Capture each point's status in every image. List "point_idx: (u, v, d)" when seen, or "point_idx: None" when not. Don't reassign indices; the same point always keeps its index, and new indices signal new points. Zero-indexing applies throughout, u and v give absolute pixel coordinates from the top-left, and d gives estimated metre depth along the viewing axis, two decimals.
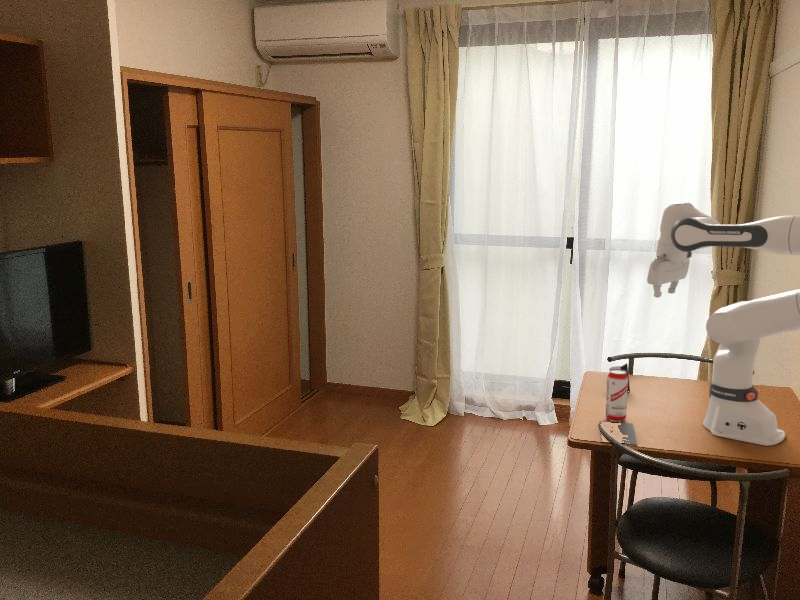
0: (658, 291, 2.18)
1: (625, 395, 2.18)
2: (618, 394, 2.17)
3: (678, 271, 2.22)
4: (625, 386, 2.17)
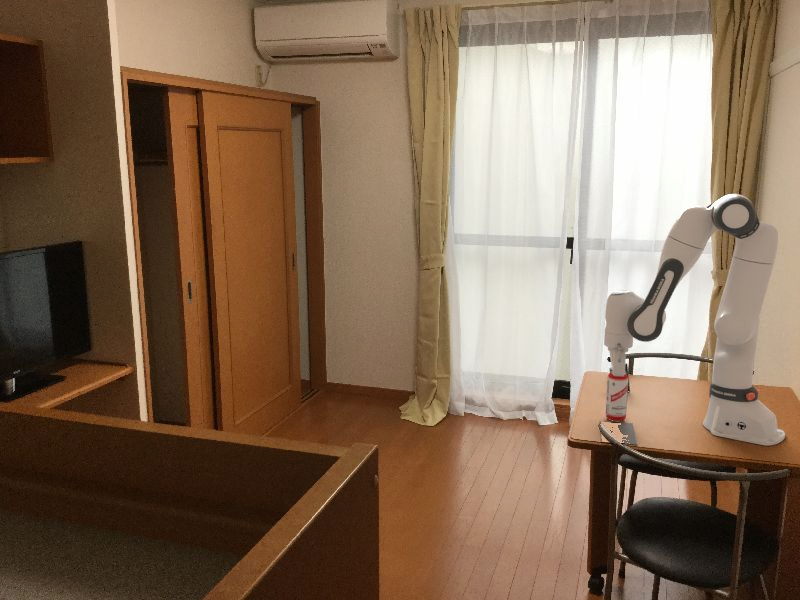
0: None
1: (625, 395, 2.17)
2: (619, 395, 2.16)
3: None
4: (625, 387, 2.16)
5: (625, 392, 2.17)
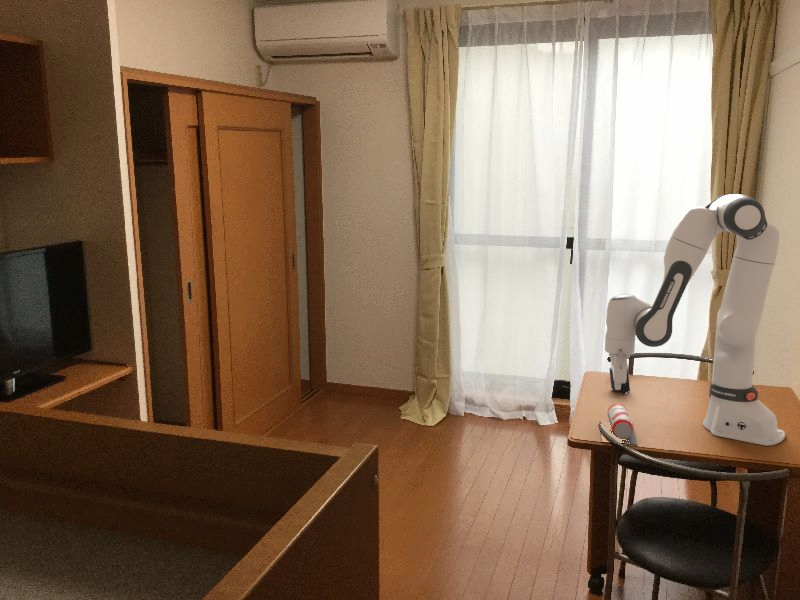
0: (620, 383, 2.15)
1: None
2: None
3: None
4: None
5: None
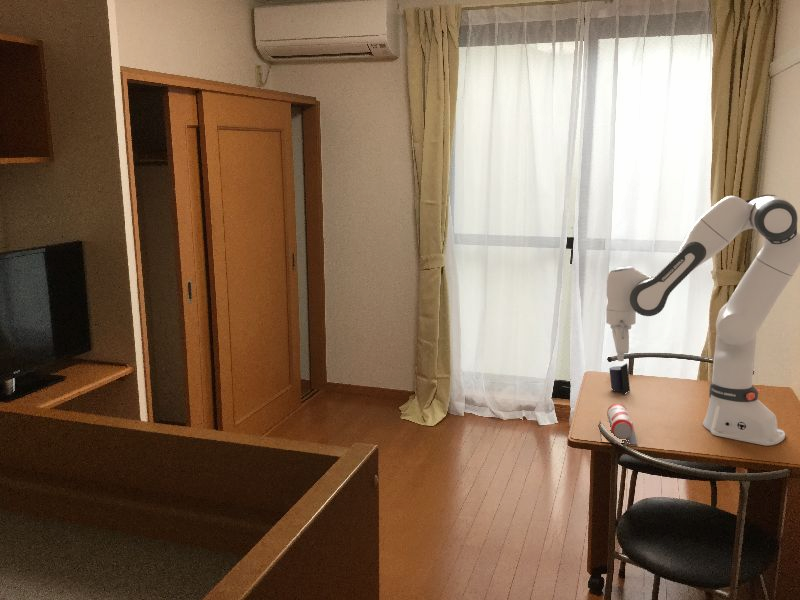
0: (622, 355, 2.18)
1: None
2: None
3: None
4: None
5: None
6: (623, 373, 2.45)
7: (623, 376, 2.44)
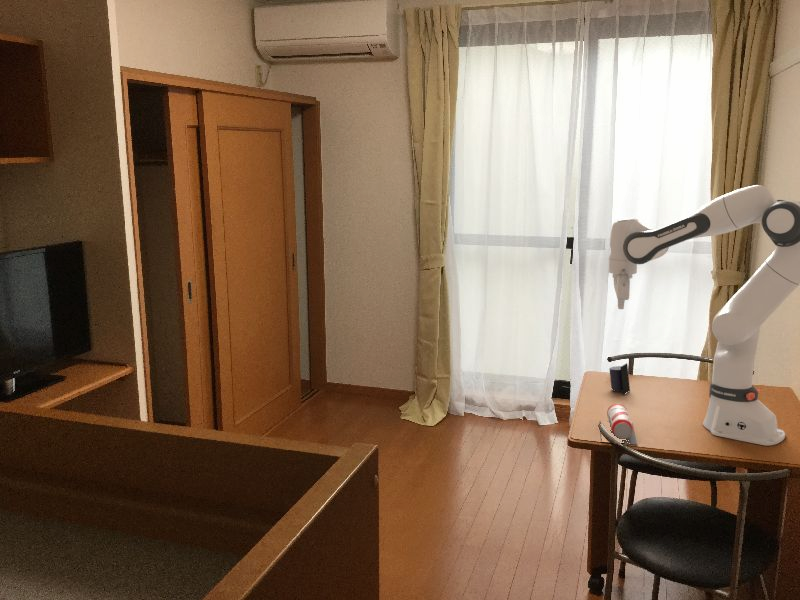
0: (623, 303, 2.28)
1: None
2: None
3: None
4: None
5: None
6: (623, 373, 2.45)
7: (623, 376, 2.44)
